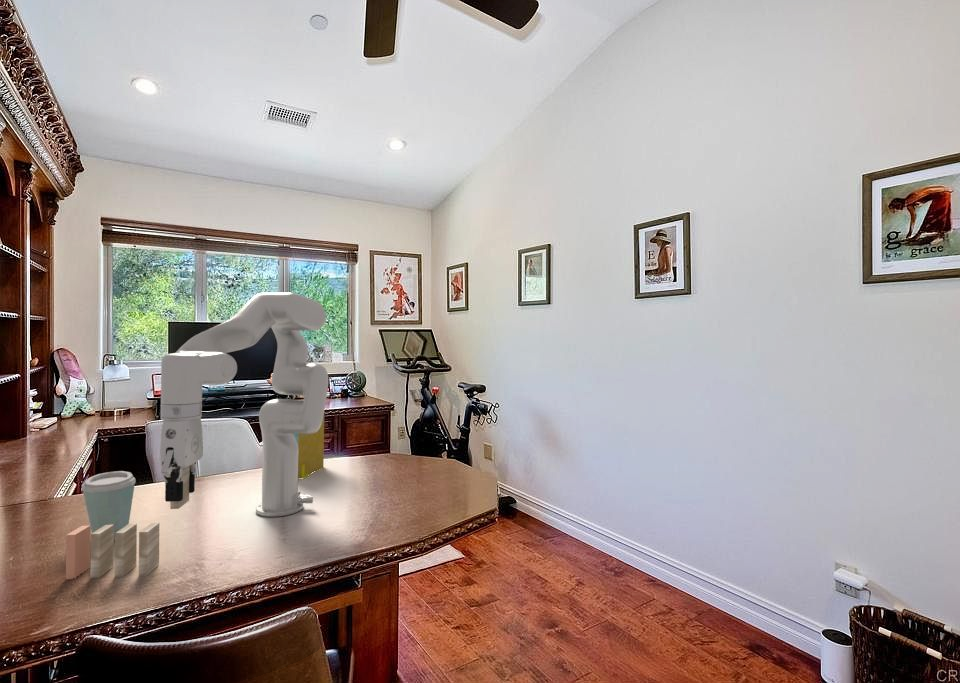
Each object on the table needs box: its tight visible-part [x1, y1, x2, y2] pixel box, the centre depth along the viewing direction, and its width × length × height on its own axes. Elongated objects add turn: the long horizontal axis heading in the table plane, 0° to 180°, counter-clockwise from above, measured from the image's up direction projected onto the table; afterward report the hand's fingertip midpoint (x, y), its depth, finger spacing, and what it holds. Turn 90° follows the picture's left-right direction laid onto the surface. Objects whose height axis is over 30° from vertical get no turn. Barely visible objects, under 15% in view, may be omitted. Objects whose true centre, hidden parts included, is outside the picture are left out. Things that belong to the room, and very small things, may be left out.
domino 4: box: [138, 522, 160, 577], centre depth 105 cm, size 2×5×9 cm, turn 8°
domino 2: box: [89, 525, 115, 579], centre depth 103 cm, size 2×5×9 cm, turn 9°
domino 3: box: [114, 523, 138, 578], centre depth 104 cm, size 2×5×9 cm, turn 8°
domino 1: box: [65, 525, 92, 580], centre depth 103 cm, size 2×5×9 cm, turn 9°
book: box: [292, 415, 325, 479], centre depth 181 cm, size 17×7×25 cm, turn 168°
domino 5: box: [169, 464, 190, 510], centre depth 105 cm, size 2×5×9 cm, turn 8°
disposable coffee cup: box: [81, 470, 137, 541], centre depth 121 cm, size 11×11×15 cm
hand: (180, 495), depth 105 cm, fingers closed on domino 5, 4 cm apart
